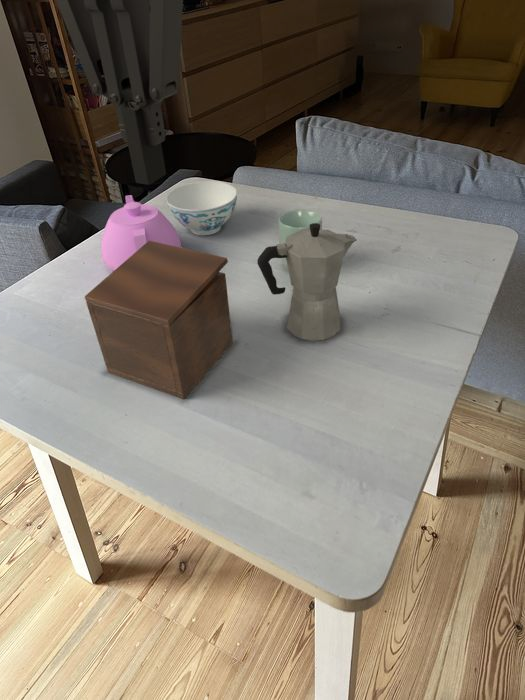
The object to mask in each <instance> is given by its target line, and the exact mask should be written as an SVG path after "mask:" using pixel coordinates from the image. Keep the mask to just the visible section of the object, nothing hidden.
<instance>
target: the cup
mask: <svg viewBox="0 0 525 700" xmlns="http://www.w3.org/2000/svg"><path fill="white" fill-rule="evenodd" d="M277 223H278V224H277V226H278V227H277V229H278V244H283V243H285V242H286V237H287V236H290V235H292V234H295V233H297V232H299V231H302V230H304V229H310V224H312V223H318V224H320V229H321V230H323V218H322V216H321V214H320V213H318V212H316V211H314V210H310V209H305V208H302V209H301V208H299V209H292V210H288V211H286V212H284V213H282V214H281V215H280V216H279V217H278V222H277ZM281 261H282V263H283V266H284V267H286V268H287V269H288V265H287V259H286V258H281Z"/></svg>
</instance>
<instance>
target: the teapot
mask: <svg viewBox="0 0 525 700" xmlns="http://www.w3.org/2000/svg"><path fill="white" fill-rule="evenodd" d="M148 241H153V242H158V243H162V244H167V245H171V246H176V247H180V248H182V243H181V239H180V236H179V234H178V231H177V230H176V228H175V227H174V225H173V224H172V223H171V221H170V220H169V219H168V218H167V217H166V216H165V215H164V213H163V212H162V211H160V210H159V209H158V208H157V207H155V206H153V205H150V204H144V203H143V204H142V203H141V202H139V201H135V200H134V198H133V194H131V195H125V204H124V205H123V207H120V208H118V209H116V210H114V211H113V212H112V213H111V214H110V215H109V218H108V220H107V222H106V224H105V227H104V229H103V233H102V238H101V242H100V243H101V244H100V246H101V247H100V250H101V251H100V252H101V258H102V261H103V263H104V265H105V266H106V267H107V268H108V269H110V270H111V271H112V272H113V271H114V270H116V269H117V268H118V267H119V266H120V265H121V264H123V263H124V262H125V261H126V260H127V259H128V258H129V257H131V256H132V255H133V254H134V253H135V252H136V251H138V250H139V249H140V248H141V247H142V246H143V245H144V244H146V243H147V242H148Z"/></svg>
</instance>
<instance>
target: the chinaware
mask: <svg viewBox="0 0 525 700" xmlns="http://www.w3.org/2000/svg"><path fill="white" fill-rule="evenodd" d="M237 199H238V190H237V189H236V188H235V187H234V186H233V185H232V184H230V183H226V182H222V181H215V180H204V181H203V180H201V181H195V182H190V183H186V184H185V183H184V184H182V185H180V186H178V187H174V188H173V189H172V190H170V191H169V192H168V193H167V195H166V197H165V201H166V204H167V206H168V208H169V211H170V213H171V214H172V216H173V217H174V219H176V221H177V222H179V224H181V225H182V226H183V227H186V228H187V229H189V230H190V231H191V233H193V234H195V235H197V236H209V235H214V234H216V233H218V232H219V231H220V230H221V229H222V226H223V225H224V224H225V223H227V221H228V220H229V219H230V218H231V216H232V215H233V213H234V210H235V208H236V205H237Z"/></svg>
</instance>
